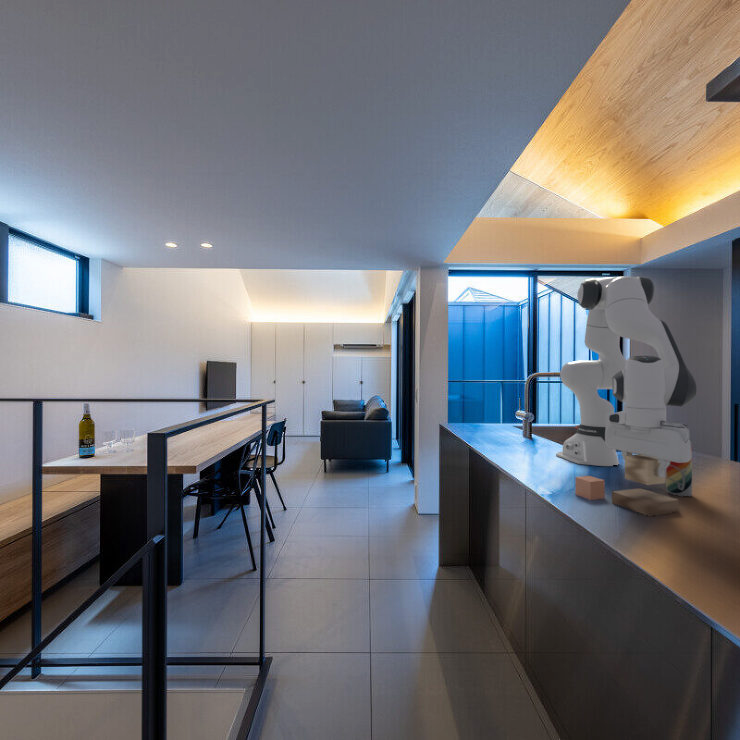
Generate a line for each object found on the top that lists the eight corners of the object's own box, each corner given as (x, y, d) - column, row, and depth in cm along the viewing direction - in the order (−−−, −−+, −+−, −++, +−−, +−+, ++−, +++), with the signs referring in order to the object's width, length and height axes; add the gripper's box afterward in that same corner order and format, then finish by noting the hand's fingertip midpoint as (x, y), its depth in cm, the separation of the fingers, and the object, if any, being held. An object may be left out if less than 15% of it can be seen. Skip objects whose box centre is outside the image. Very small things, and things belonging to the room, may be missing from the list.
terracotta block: (575, 494, 109) (575, 477, 109) (589, 492, 110) (589, 475, 110) (590, 500, 104) (590, 481, 104) (604, 498, 106) (604, 480, 106)
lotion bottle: (670, 495, 108) (670, 424, 108) (663, 489, 113) (663, 422, 113) (695, 498, 106) (695, 425, 106) (686, 491, 111) (686, 422, 111)
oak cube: (624, 478, 100) (624, 455, 100) (641, 476, 102) (641, 454, 102) (647, 485, 95) (647, 460, 95) (665, 483, 96) (665, 459, 96)
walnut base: (611, 502, 102) (611, 491, 102) (639, 499, 105) (639, 488, 105) (649, 516, 92) (649, 504, 92) (678, 511, 95) (678, 499, 95)
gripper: (698, 423, 89) (698, 482, 89) (618, 414, 109) (618, 462, 109) (679, 424, 88) (679, 485, 87) (600, 415, 107) (600, 464, 107)
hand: (644, 472), depth 98 cm, fingers closed on oak cube, 6 cm apart
